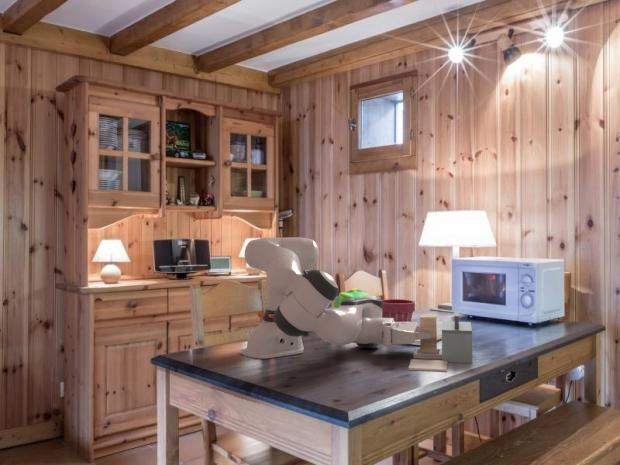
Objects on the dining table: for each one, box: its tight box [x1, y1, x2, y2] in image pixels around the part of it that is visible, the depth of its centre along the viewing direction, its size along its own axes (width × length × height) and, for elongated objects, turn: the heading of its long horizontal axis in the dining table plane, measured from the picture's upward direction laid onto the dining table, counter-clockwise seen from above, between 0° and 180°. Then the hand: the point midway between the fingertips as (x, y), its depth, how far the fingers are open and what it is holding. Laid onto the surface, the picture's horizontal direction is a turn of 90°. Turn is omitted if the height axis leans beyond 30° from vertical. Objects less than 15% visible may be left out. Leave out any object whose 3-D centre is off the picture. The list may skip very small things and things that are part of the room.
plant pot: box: [380, 298, 416, 322], centre depth 222 cm, size 14×14×13 cm
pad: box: [408, 358, 448, 373], centre depth 170 cm, size 11×11×1 cm
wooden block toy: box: [413, 310, 473, 364], centre depth 182 cm, size 16×18×14 cm
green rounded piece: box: [333, 287, 370, 308], centre depth 253 cm, size 18×17×15 cm
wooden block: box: [419, 314, 438, 354], centre depth 184 cm, size 5×5×13 cm
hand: (431, 332), depth 183 cm, fingers open, 8 cm apart
